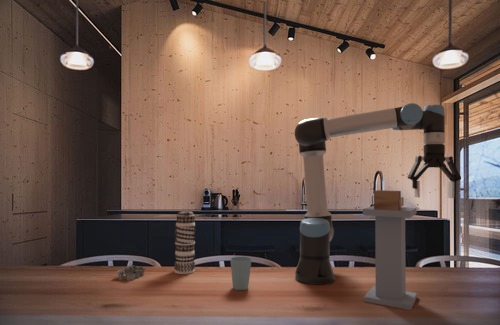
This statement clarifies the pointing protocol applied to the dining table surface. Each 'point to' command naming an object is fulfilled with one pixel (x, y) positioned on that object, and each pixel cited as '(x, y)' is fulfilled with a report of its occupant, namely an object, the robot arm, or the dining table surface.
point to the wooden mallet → (388, 200)
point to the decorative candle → (185, 242)
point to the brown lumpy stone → (130, 273)
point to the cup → (240, 272)
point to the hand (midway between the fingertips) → (434, 197)
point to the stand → (390, 258)
